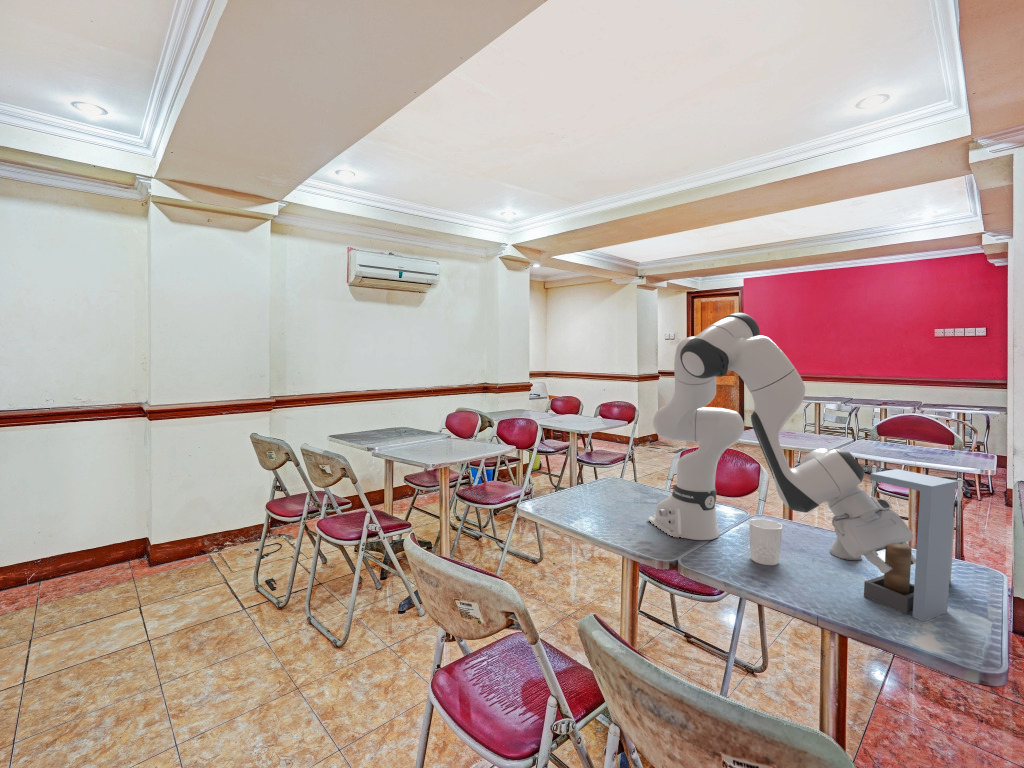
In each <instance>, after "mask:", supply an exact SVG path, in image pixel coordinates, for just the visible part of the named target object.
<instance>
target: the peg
mask: <svg viewBox="0 0 1024 768" xmlns="http://www.w3.org/2000/svg"><path fill="white" fill-rule="evenodd" d="M911 553H912V547H910V546H909V547H908V546H906V545H903V544H899V543H893V544H889V545H886V549H885V556H884V562H888V564H889V565H890V566H891V568H892V571H889V572H887V573H883V575H884V587H885V588H887V589H890V590H892V591H895V592H897V593H900V594H902V595H908V594H909V588H910V583H911V570H912V569H911V566H912V565H911Z"/></svg>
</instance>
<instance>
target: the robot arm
mask: <svg viewBox="0 0 1024 768" xmlns="http://www.w3.org/2000/svg"><path fill="white" fill-rule="evenodd" d="M673 365H674V366H673V367H674V368H673V369H674V394H673V397H672V398H671V400H670V401H669V402H668V403H667V404H665V405H663V406H662V407H660V408H659V409H658V410H657V411H656V412H655V414H654V416H653V420H652V424H653V425H652V426H653V429H654V431H655V433H656V434H657V436H658V437H659V438H663V439H666V440H669V441H673V442H684V443H685V442H686V443H697V444H698V445H699V447H698V449H696V450H695V451H691V452H689V453H686V454H684V455H682V456H681V457H679V459H678V461H677V462H676V463H677V464H676V484H673V485H672V484H671V485H670V488H669V489H670V490H672V493H671V495H669V496H667V497H666V498H664V499H663V500H661V501H660V502H658V504H657V505H656V509H655V514H652V515H650V516H649V517H648V518H647V521H648V522H649V521H650V522H651V523H650V522H649V523H650V524H651V525H653V524H654V525H653V526H655V527H656V526H657V527H656V528H658V529H659V530H660V529H661V532H663V531H664V532H663V533H665V534H666V533H667V535H668V536H669V535H670V536H669V537H671V536H673V537H672V538H679V537H681V539H682V538H683V539H689V540H694V541H710V540H715V539H717V538H719V537H720V532H719V525H718V521H717V508H716V502H717V488H716V475H717V467H718V463H719V461H720V459H721V456H722V455H723V454H724V452H725V451H726V450H727V449H729V448H730V447H731V446H732V445H735V444H736V443H737V442H738V441H740V439H741V438H742V437H743V434H744V432H745V423H744V420H743V417H742V416H741V414H740V413H739V412H738V411H737V410H736V411H735V410H732V409H728V408H723V407H713V406H711V407H710V406H708V405H709V404H710V403H711V402H712V401H713V400H714V398H715V397H716V395H717V378H718V377H725V376H726V375H727V373H728V371H732V372H734V373H736V374H737V375H738V376H739V377H740V378H741V380H742V381H743V382H744V385H745V386H746V388H747V389H748V391H749V392H750V394H751V397H752V399H753V407H754V410H753V412H752V413H751V415H750V419H751V420H750V421H751V425H752V428H753V430H754V433H755V437H756V439H757V442H758V444H759V446H760V449H761V451H762V453H763V457H764V458H765V460H766V461H765V462H766V463H767V466H768V468H769V471H770V473H771V476H772V478H773V481H774V484H775V489H776V492H777V495H778V497H779V499H780V501H782V503H783V504H784V505H785V506H786V507H787V508H788V509H789V510H791V511H795V512H800V513H809V512H811V511H812V510H814V509H815V508H818V507H819V506H820V505H823V503H826V504H827V507H828V509H829V511H831V513H832V514H833V515H834V516H832V520H831V521H832V522H831V525H832V526H833V528H834V532H835V535H836V537H837V536H838V538H839V540H840V542H841V543H842V545H843V546H844V548H845V549H846V551H847V552H848V553H849V554H850V555H851V556H852V557H854V558H856V557H859V556H861V557H865V559H866V560H867V561H869V562H870V563H871V564H872V565H874V566H875V567H877V569H878V571H879V572H880V573H881V574H884V573H887V572H889V571H892V568H891V566H890V565H889V564H888V562H885V560H883V559H882V558H881V557H880V556H879V553H878V552H880V551H884V550H886V545H889V544H893V543H899V544H903V545H906V546H908V547H910V545H909V544H908V542H910V541H912V540H914V534H913V531H912V530H911V529H910V527H909V526H908V525H907V524H906V522H905V521H904V520H903V519H902V517H901V516H900V515H899V514H898V513H897V512H896V511H895V510H892V508H893V505H892V504H891V503H890V502H889V501H888V500H887V499H884V498H878V497H875V496H873V495H869V494H868V492H867V491H866V490H865V489H863V488H862V487H861V486H860V484H862V482H863V480H864V476H865V472H866V471H865V469H864V468H863V466H862V465H861V464H859V462H858V461H857V460H856V458H855V457H854V456H853V455H852V454H851V452H850V451H847V450H844V449H841V448H840V449H839V448H833V449H830V450H829V449H828V448H823V447H822V448H816V449H813V450H811V451H810V452H807V453H806V454H805V455H804V456H803V457H802V459H801V460H800V464H799V465H797V466H795V467H790V465H789V463H788V461H787V459H786V455H785V453H784V451H783V449H782V446H781V443H780V440H779V437H780V433H781V431H782V429H783V427H784V426H785V425H786V423H787V422H788V421H789V420H790V419H791V417H793V415H794V414H795V413H796V412H797V411H798V409H799V408H800V407H801V405H802V402H803V401H804V398H805V394H806V385H805V383H804V381H803V378H802V376H801V375H800V373H799V372H798V370H797V368H795V365H794V364H793V363H792V362H791V360H790V359H789V357H788V356H787V355H786V354H785V353H784V351H783V350H782V349H781V348H780V347H779V346H778V344H776V343H775V342H774V341H773V340H772V339H771V338H770V337H768V336H765V335H761V331H760V326H759V325H758V323H757V321H756V320H755V319H754V318H753V317H752V316H750V315H749V314H747V313H743V312H734V313H731V314H728V315H726V316H725V315H724V317H722V318H721V319H720V320H718V321H716V322H713V323H712V324H710V325H709V326H707V327H706V328H705V329H703V330H702V331H701V332H699V334H697V335H694V336H688V337H685V338H684V339H682V340H681V341H679V343H678V344H677V346H676V348H675V355H674V363H673ZM913 565H916V557H914V555H913V553H912V552H911V566H913Z"/></svg>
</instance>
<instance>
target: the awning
mask: <svg viewBox="0 0 1024 768" xmlns="http://www.w3.org/2000/svg"><path fill="white" fill-rule="evenodd" d="M870 481H874V482H879V483H882V484H887V485H891V486H897V487H901V488H904V489H905V488H906V489H908V490H914V491H918V492H919V499H918V500H919V501H918V502H919V504H918V505H919V506H918V516H917V517H918V519H917V520H918V522H917V534H916V535H917V538H916V551H915V552H916V554H915V559H916V563H915V566H914V567H915V572H914V600H913V612H912V617H913V618H915V619H917V620H919V621H922V622H926V621H929V620H931V619H933V618H935V617H938V616H941V615H943V614H946V613H948V606H949V605H948V604H949V591H950V584H949V578H950V562H951V547H952V531H953V516H954V513H955V512H954V503H955V501H956V500H955V498H956V497H955V496H956V489H958V488H959V480H954V479H950V478H945V477H940V476H933V475H929V474H924V473H919V472H914V471H909V470H903V469H898V468H895V469H894V468H893V469H890V470H883V471H878V472H877V471H876V472H872V473H870Z"/></svg>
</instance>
